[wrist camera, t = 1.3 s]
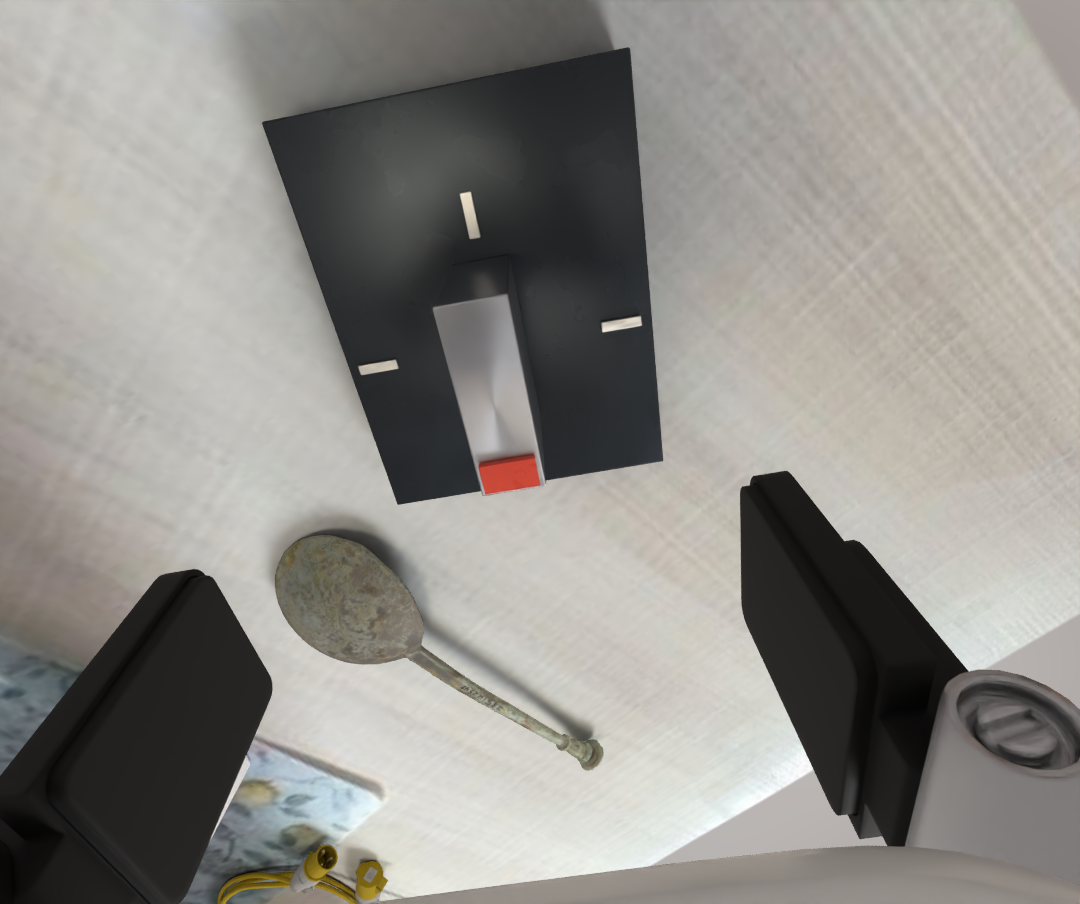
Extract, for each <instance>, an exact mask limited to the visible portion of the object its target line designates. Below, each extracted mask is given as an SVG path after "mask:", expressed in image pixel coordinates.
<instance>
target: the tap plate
mask: <svg viewBox="0 0 1080 904" xmlns="http://www.w3.org/2000/svg"><path fill="white" fill-rule="evenodd" d="M262 124H263V127H264V130H265V133H266V136H267V138H268V141H269V144H270V147H271V150H272V152H273V155H274V158H275V161H276V164H277V167H278V169H279V172H280V175H281V178H282V181H283V183H284V186H285V189H286V192H287V195H288V197H289V200H290V203H291V206H292V209H293V212H294V214H295V217H296V220H297V223H298V226H299V228H300V231H301V234H302V237H303V240H304V242H305V245H306V248H307V251H308V254H309V256H310V259H311V262H312V265H313V268H314V271H315V273H316V276H317V279H318V282H319V285H320V287H321V290H322V293H323V296H324V299H325V301H326V304H327V307H328V310H329V313H330V316H331V318H332V321H333V324H334V327H335V330H336V332H337V335H338V338H339V341H340V344H341V346H342V349H343V352H344V355H345V358H346V360H347V363H348V366H349V369H350V372H351V375H352V377H353V380H354V383H355V386H356V389H357V391H358V394H359V397H360V400H361V403H362V405H363V408H364V411H365V414H366V417H367V420H368V422H369V425H370V428H371V431H372V434H373V436H374V439H375V442H376V445H377V448H378V450H379V453H380V456H381V459H382V462H383V465H384V467H385V470H386V473H387V476H388V479H389V481H390V484H391V487H392V490H393V493H394V495H395V498H396V501H397V504H398V505H399V504H405V503H411V502H417V501H423V500H430V499H436V498H442V497H448V496H454V495H460V494H466V493H472V492H478V491H481V488H480V485H479V481H478V477H477V473H476V470H475V466H474V462H473V458H472V455H471V451H470V447H469V443H468V440H467V436H466V432H465V428H464V425H463V421H462V417H461V413H460V410H459V406H458V402H457V398H456V395H455V391H454V387H453V383H452V380H451V376H450V372H449V368H448V365H447V361H446V357H445V353H444V350H443V346H442V342H441V338H440V335H439V331H438V327H437V323H436V320H435V316H434V312H433V306H434V304H435V302H436V299H437V297H438V295H439V292H440V290H441V288H442V286H443V283H444V281H445V279H446V276H447V274H448V272H449V270H450V267H451V266H452V265H457V264H462V263H467V262H473V261H478V260H483V259H489V258H494V257H499V256H505V255H510V259H511V264H512V269H513V274H514V279H515V285H516V290H517V295H518V300H519V305H520V311H521V316H522V321H523V326H524V332H525V337H526V342H527V347H528V352H529V358H530V363H531V368H532V373H533V378H534V384H535V389H536V394H537V399H538V404H539V410H540V416H541V428H542V441H543V454H544V466H545V479H546V480H551V479H557V478H563V477H569V476H575V475H582V474H588V473H594V472H600V471H606V470H612V469H618V468H624V467H630V466H636V465H642V464H648V463H654V462H661V461H663V452H662V440H661V427H660V415H659V402H658V390H657V377H656V365H655V352H654V340H653V328H652V315H651V303H650V290H649V278H648V265H647V253H646V240H645V228H644V216H643V203H642V191H641V178H640V166H639V153H638V141H637V128H636V116H635V104H634V91H633V79H632V66H631V54H630V48H623V49H618V50H613V51H608V52H603V53H598V54H593V55H588V56H583V57H579V58H574V59H569V60H564V61H559V62H554V63H549V64H544V65H539V66H534V67H529V68H525V69H520V70H515V71H510V72H505V73H500V74H495V75H490V76H485V77H480V78H475V79H471V80H466V81H461V82H456V83H451V84H446V85H441V86H436V87H431V88H426V89H421V90H417V91H412V92H407V93H402V94H397V95H392V96H387V97H382V98H377V99H372V100H367V101H363V102H358V103H353V104H348V105H343V106H338V107H333V108H328V109H323V110H318V111H313V112H309V113H304V114H299V115H294V116H289V117H284V118H279V119H274V120H269V121H264V122H262Z"/></svg>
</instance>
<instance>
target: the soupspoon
mask: <svg viewBox="0 0 1080 904" xmlns="http://www.w3.org/2000/svg"><path fill="white" fill-rule="evenodd" d="M275 588H276V596H277V599H278V603H279V606H280V608H281V611H282V613H283V615H284V616H285V618H286V620H287V621H288V623H289V624H290V626H291V627H292V628H293V629H294V631H295V632H296V633H297V634H298V635H299V636H300V637H301V638H302V639H303V640H304V641H305V642H306V643H308V644H309V645H310V646H312V647H313V648H315V649H316V650H318V651H319V652H321V653H323V654H325V655H327V656H329V657H332V658H334V659H337V660H340V661H343V662H347V663H354V664H381V663H386V662H391V661H395V660H398V659H401V658H408V659H409V660H410V661H413V662H414V663H416V664H417V665H419V666H421V667H422V668H424V669H425V670H427V671H428V672H430V673H431V674H432V675H433V676H435V677H437V678H439V679H440V680H442V681H443V682H445V683H446V684H448V685H450V686H451V687H453V688H455V689H456V690H458V691H459V692H461V693H463V694H465V695H467V696H469V697H470V698H472V699H474V700H476V701H477V702H479V703H481V704H482V705H485V706H487V707H488V708H490V709H492V710H494V711H495V712H497V713H499V714H501V715H503V716H505V717H507V718H509V719H511V720H513V721H514V722H516V723H518V724H520V725H522V726H523V727H525V728H527V729H529V730H530V731H532V732H534V733H536V734H538V735H540V736H541V737H543V738H545V739H547V740H549V741H551V742H553V743H555V744H556V746H557V748H558V749H559V750H561V751H565V750H566V751H567V752H568V753H569V754H571V755H572V756H574V757H575V758H577V759H578V761H579V762H580V764H581V766H582V768H583V769H585V770H587V771H590V770H593V769H594V768H595V767H597V766H599V764H600V763H601V761H602V758H603V748H602V747H601V745H600V744H599V743H598V741H597V740H593V739H592V740H587V741H586V742H579V741H578V740H575V739H570V737H569V736H568V735H566V734H563V735H561V734H559V733H557V732H556V731H554V730H552V729H551V728H549V727H547V726H545V725H544V724H542V723H540V722H539V721H537V720H536V719H534V718H532V717H531V716H529V715H528V714H526V713H524V712H522V711H521V710H519V709H517V708H516V707H514V706H512V705H511V704H509V703H508V702H506V701H504V700H502V699H501V698H499V697H497V696H495V695H493V694H492V693H490V692H488V691H487V690H485V689H484V688H482V687H480V686H479V685H477V684H475V683H474V682H472V681H471V680H469V679H468V678H466V677H465V676H463V675H462V674H460V673H459V672H458V671H456V670H455V669H453V668H452V667H450V666H449V665H447V664H446V663H445V662H443V661H442V660H440V659H439V658H438V657H436V656H435V655H434V654H432V653H431V652H429V651H428V650H426V649H425V648H424V647H423V646H422V645H421V643H422V637H423V633H424V629H423V622H422V618H421V615H420V613H419V610H418V608H417V606H416V603H415V600H414V598H413V596H412V595H411V593H410V592H409V590H408V588H407V587H406V586H405V585H404V584H403V582H402V580H401V579H400V578H399V577H398V576H397V575H396V574H395V573H394V572H392V571H391V569H390V568H389V567H387V566H386V565H385V564H384V563H383V562H382V561H381V560H380V559H378V558H377V557H376V556H375V555H374V554H373V553H371V551H370V550H368V548H365V546H363V545H361V544H358V543H357V542H353V541H351V540H347V539H344V538H340V537H337V536H328V535H318V536H311V537H308V538H305V539H301V540H299V541H297V542H295V543H294V544H293V545H292V546H291V547H290V548H289V549H288V550H286V551H285V553H284V554H283V556H282V558H281V560H280V562H279V564H278V567H277V571H276V576H275Z"/></svg>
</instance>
